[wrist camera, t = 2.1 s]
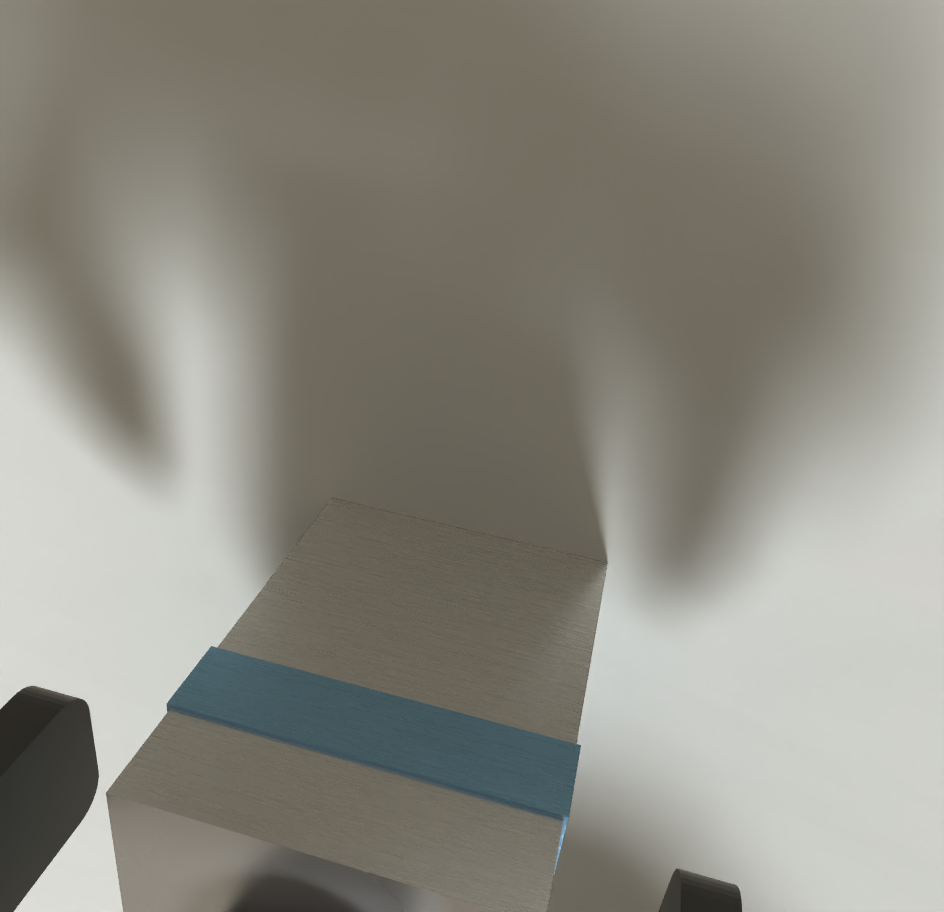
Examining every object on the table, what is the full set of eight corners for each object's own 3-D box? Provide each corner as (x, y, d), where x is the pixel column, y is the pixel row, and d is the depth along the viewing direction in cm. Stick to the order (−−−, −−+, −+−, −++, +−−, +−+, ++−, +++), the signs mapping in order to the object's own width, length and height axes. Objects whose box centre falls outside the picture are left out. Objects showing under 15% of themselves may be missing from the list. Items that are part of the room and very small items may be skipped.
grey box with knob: (612, 559, 13) (532, 1038, 7) (558, 785, 15) (463, 1282, 9) (329, 494, 14) (32, 876, 8) (321, 719, 16) (92, 1141, 10)
